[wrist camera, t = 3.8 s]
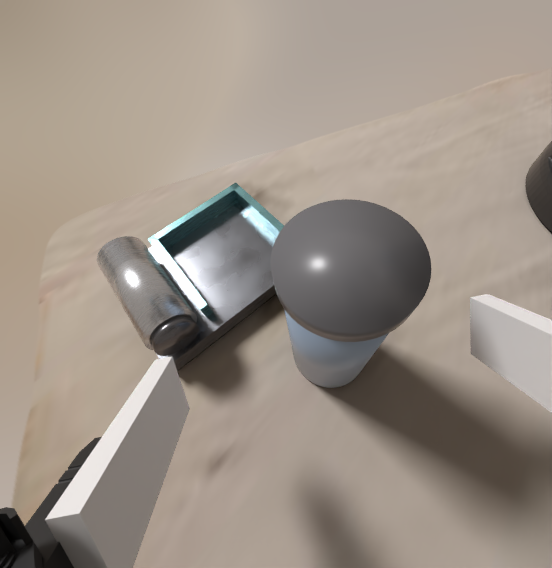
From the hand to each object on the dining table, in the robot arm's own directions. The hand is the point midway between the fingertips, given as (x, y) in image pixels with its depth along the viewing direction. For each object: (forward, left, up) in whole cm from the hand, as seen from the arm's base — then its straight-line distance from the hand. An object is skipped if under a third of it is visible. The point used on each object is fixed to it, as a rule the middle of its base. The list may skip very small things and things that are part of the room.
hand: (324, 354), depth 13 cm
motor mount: (+1, -12, -8) cm, 15 cm away
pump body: (-2, -1, -8) cm, 8 cm away
